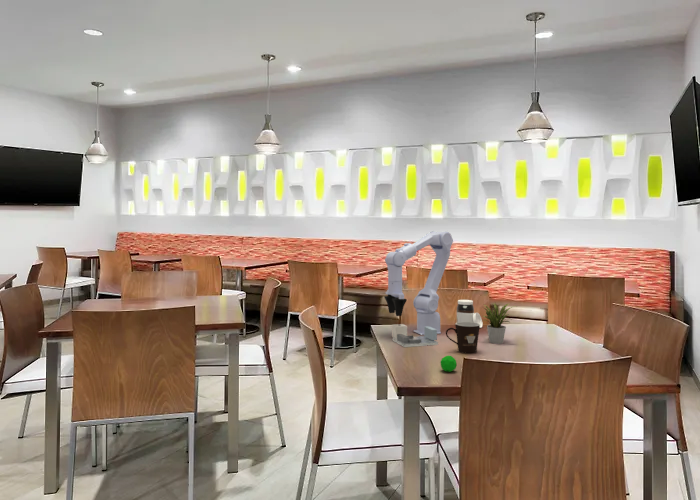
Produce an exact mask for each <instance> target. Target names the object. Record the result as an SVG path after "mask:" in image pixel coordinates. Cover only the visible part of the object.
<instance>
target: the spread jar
mask: <svg viewBox="0 0 700 500" xmlns="http://www.w3.org/2000/svg"><path fill="white" fill-rule="evenodd" d="M458 322H473V323H478V324H480V328H479V329H481V328H483V321H482V316H481V315H480V313H479V312H475V307H474V300H471V299H458V300H457V306H456V323H458Z"/></svg>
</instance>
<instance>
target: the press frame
mask: <svg viewBox="0 0 700 500" xmlns="http://www.w3.org/2000/svg"><path fill="white" fill-rule="evenodd" d="M392 342H394V343H395V344H398V345H399V346H401V347H403V348H413V347H414V348H415V347H426V346H427V345H428V346H437V345H439V341H437V340H430V339H428V338H426V337H424V335H418V336H414V335H413V334H412V335H407V336H405V335H403V334H397V338H393V337H392Z"/></svg>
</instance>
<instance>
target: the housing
mask: <svg viewBox="0 0 700 500" xmlns="http://www.w3.org/2000/svg"><path fill="white" fill-rule="evenodd" d="M397 334H403V335H405V336H408V326H407V325H405V324H404V323H400V324H398V323H397V324H391V337H392V338H397Z"/></svg>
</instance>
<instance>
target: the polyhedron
mask: <svg viewBox="0 0 700 500" xmlns="http://www.w3.org/2000/svg"><path fill="white" fill-rule="evenodd" d="M440 367H441V369H442V370H443V371H445V372H447V373H450V372H454V371H455V370H456V369H457V360H456V358H455V357H453V356H452V355H445V356H444V357H442V358H441V360H440Z"/></svg>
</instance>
